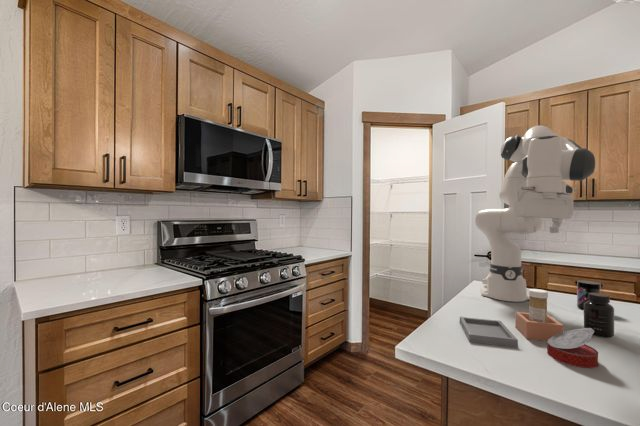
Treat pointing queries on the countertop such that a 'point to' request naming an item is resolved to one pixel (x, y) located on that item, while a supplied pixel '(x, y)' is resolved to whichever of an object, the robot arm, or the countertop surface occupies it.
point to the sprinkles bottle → (538, 305)
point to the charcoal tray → (488, 332)
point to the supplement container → (586, 291)
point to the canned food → (573, 348)
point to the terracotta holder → (537, 327)
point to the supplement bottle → (599, 315)
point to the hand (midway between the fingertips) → (543, 232)
